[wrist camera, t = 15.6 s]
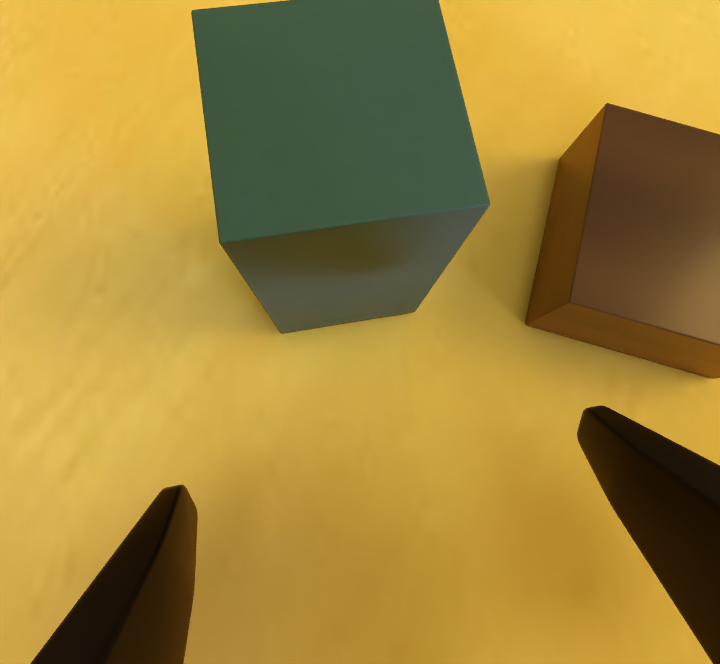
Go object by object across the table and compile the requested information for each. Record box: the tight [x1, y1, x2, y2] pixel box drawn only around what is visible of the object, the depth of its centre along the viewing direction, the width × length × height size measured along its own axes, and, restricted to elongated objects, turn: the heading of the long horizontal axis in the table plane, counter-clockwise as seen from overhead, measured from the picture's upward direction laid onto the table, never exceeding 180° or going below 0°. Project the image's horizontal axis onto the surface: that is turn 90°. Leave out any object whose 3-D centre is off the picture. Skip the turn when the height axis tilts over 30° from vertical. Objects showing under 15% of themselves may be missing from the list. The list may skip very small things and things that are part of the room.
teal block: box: [191, 0, 490, 333], centre depth 13 cm, size 6×6×9 cm
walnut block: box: [525, 103, 720, 378], centre depth 17 cm, size 8×8×4 cm
